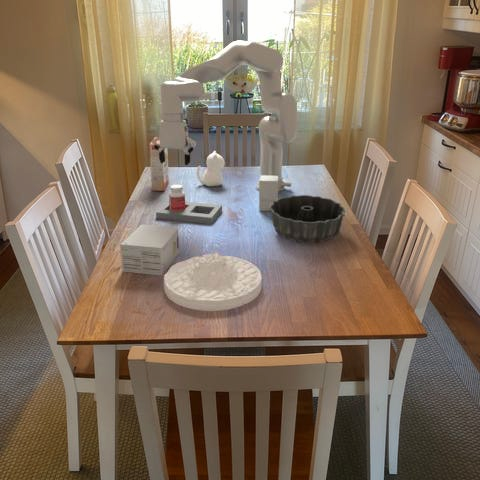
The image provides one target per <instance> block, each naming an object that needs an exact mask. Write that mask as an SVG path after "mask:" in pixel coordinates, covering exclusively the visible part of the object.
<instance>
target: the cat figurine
mask: <svg viewBox="0 0 480 480" xmlns="http://www.w3.org/2000/svg"><path fill="white" fill-rule="evenodd" d="M225 164H226V163H225V160H224V158H223V156H221V155H220V154H218V153H217V151H216V150H214V151H212V153H210V154H209V155H207V158H206V167H207V168H206V169H205V170H204V173H203V176H202V177H201V168H202V167H201V165H199V166H197V170H196V176H197V179H198V181H199V182H200V183H201V184H203V185H205V186H206V187H218V186H219V187H220V186H221V185H222V184H223V181H224V180H223V179H224V178H223V172H222V171H221V170H222V169H223V168H224V166H225Z"/></svg>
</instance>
